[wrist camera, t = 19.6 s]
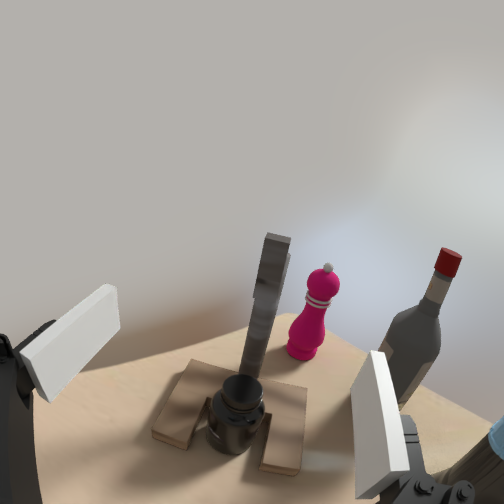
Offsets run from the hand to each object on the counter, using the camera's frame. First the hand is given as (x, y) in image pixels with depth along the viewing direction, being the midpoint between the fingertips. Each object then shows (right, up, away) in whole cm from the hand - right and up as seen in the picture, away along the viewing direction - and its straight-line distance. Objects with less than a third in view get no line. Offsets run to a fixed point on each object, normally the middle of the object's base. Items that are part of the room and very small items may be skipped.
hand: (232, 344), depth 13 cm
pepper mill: (+11, -16, +43) cm, 47 cm away
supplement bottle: (-2, -22, +21) cm, 31 cm away
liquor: (+24, -23, +31) cm, 45 cm away
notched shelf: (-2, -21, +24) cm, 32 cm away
